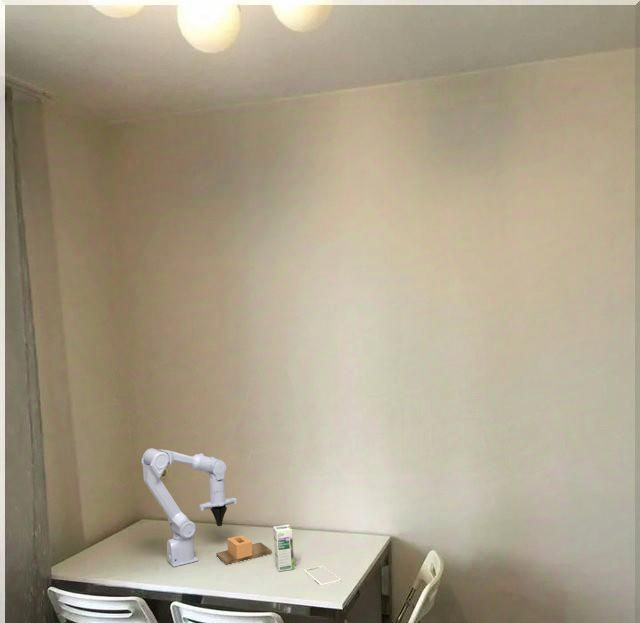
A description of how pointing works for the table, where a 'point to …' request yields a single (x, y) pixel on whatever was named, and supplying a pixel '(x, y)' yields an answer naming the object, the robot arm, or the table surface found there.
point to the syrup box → (283, 547)
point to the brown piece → (257, 551)
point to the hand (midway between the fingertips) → (219, 525)
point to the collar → (239, 547)
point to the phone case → (326, 570)
